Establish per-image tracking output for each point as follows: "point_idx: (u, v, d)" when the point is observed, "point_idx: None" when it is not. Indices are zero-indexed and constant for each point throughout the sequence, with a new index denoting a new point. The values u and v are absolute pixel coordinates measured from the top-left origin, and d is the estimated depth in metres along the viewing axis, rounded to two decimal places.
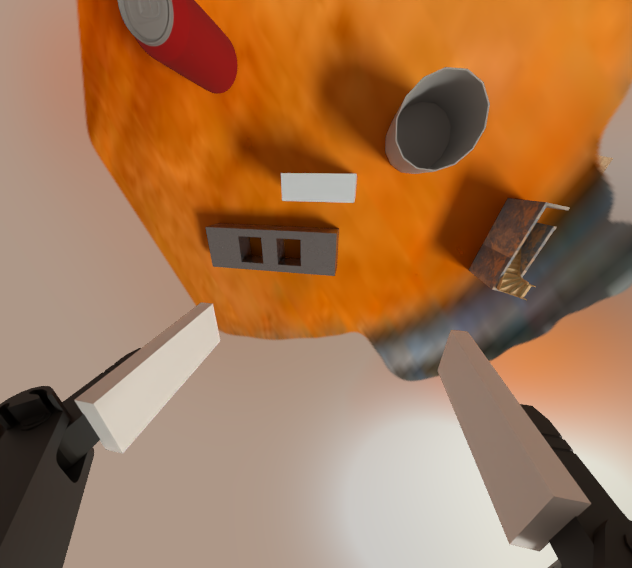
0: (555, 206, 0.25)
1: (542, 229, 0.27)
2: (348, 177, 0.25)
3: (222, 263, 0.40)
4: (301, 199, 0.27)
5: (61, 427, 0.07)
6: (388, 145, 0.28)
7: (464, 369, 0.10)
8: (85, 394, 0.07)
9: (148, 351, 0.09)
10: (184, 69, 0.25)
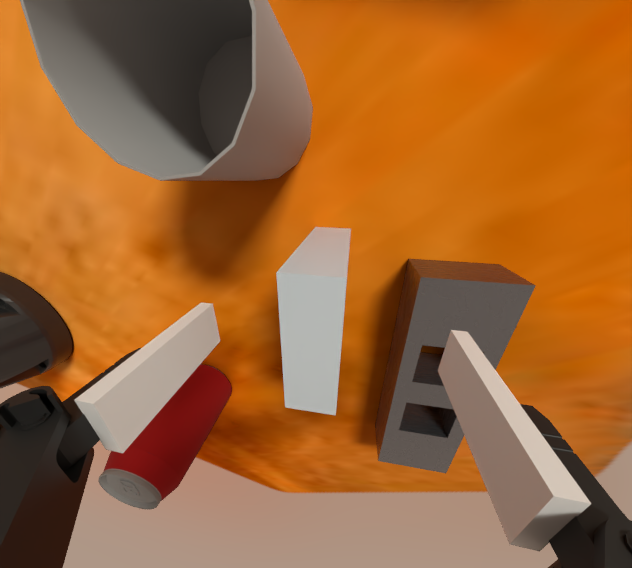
0: None
1: None
2: (285, 290, 0.10)
3: (443, 461, 0.23)
4: (334, 385, 0.12)
5: (61, 427, 0.07)
6: (254, 177, 0.14)
7: (464, 369, 0.10)
8: (85, 394, 0.07)
9: (148, 351, 0.09)
10: (191, 449, 0.21)
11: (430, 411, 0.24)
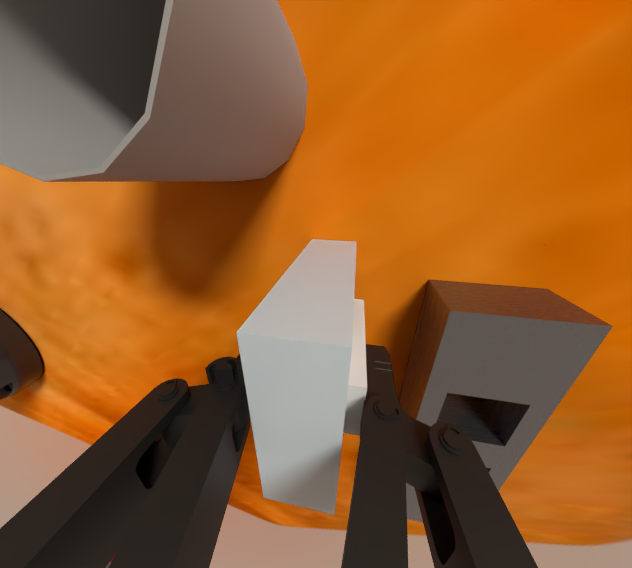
0: None
1: None
2: (253, 359, 0.06)
3: None
4: (332, 482, 0.08)
5: (239, 400, 0.08)
6: (228, 177, 0.11)
7: None
8: None
9: None
10: None
11: None
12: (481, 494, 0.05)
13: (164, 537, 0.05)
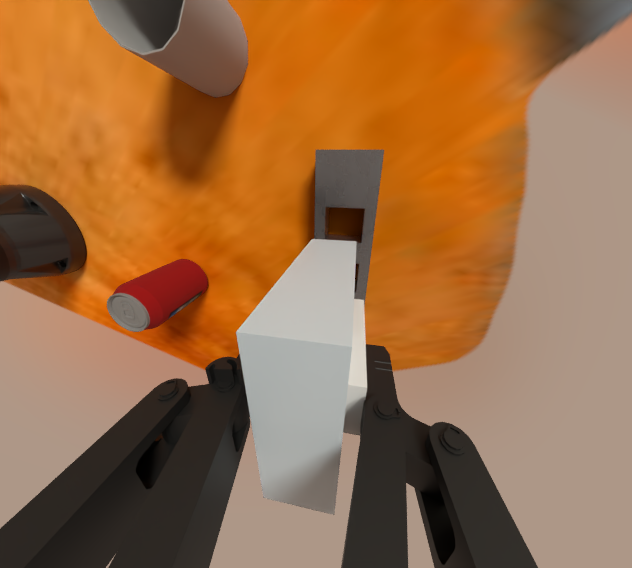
0: None
1: None
2: (252, 358, 0.06)
3: None
4: (332, 482, 0.08)
5: (239, 400, 0.08)
6: (207, 82, 0.23)
7: None
8: None
9: None
10: (172, 299, 0.30)
11: None
12: (481, 494, 0.05)
13: (164, 537, 0.05)
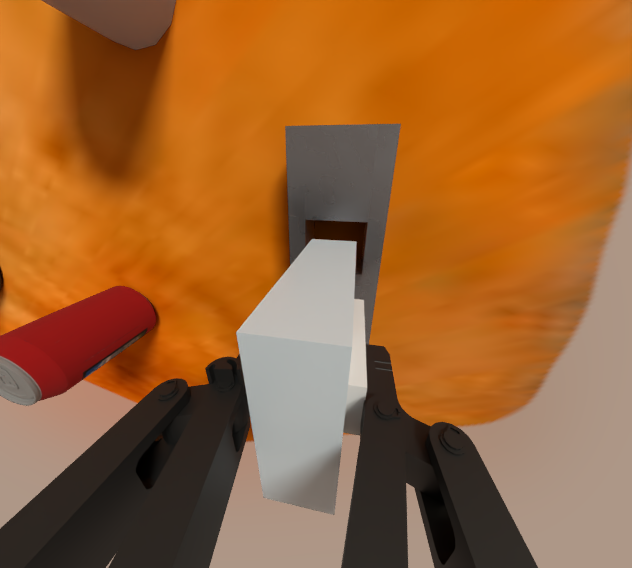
0: None
1: None
2: (252, 359, 0.06)
3: None
4: (332, 482, 0.08)
5: (239, 400, 0.08)
6: (99, 10, 0.13)
7: None
8: None
9: None
10: (85, 352, 0.20)
11: None
12: (481, 494, 0.05)
13: (164, 537, 0.05)
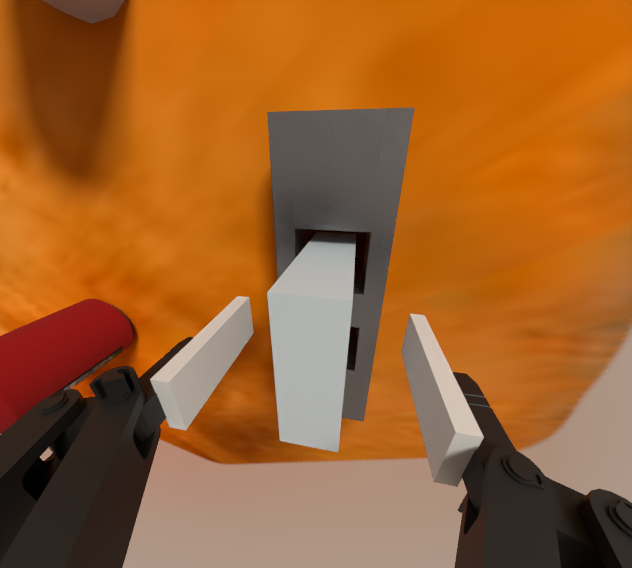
0: None
1: None
2: (278, 313, 0.08)
3: (357, 404, 0.19)
4: (336, 420, 0.10)
5: (138, 406, 0.07)
6: None
7: (415, 346, 0.11)
8: (158, 374, 0.08)
9: (202, 338, 0.10)
10: (41, 380, 0.17)
11: None
12: None
13: (48, 554, 0.04)
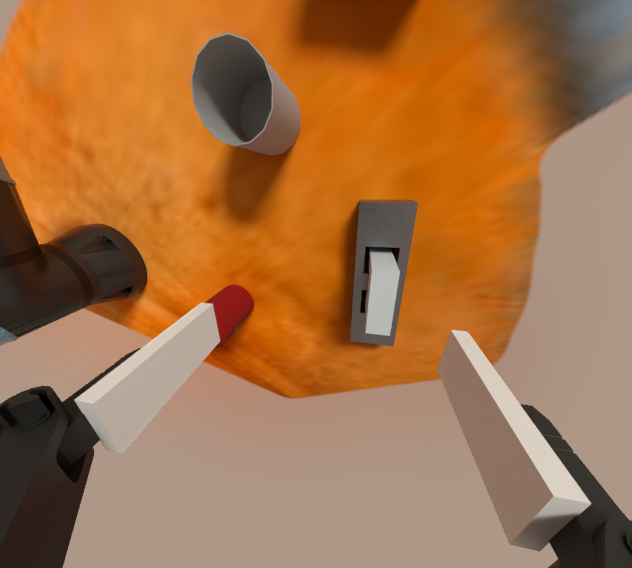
0: None
1: None
2: (374, 277, 0.25)
3: (390, 335, 0.36)
4: (390, 319, 0.27)
5: (61, 427, 0.07)
6: (270, 150, 0.28)
7: (464, 369, 0.10)
8: (85, 394, 0.07)
9: (148, 351, 0.09)
10: (231, 322, 0.35)
11: None
12: None
13: None
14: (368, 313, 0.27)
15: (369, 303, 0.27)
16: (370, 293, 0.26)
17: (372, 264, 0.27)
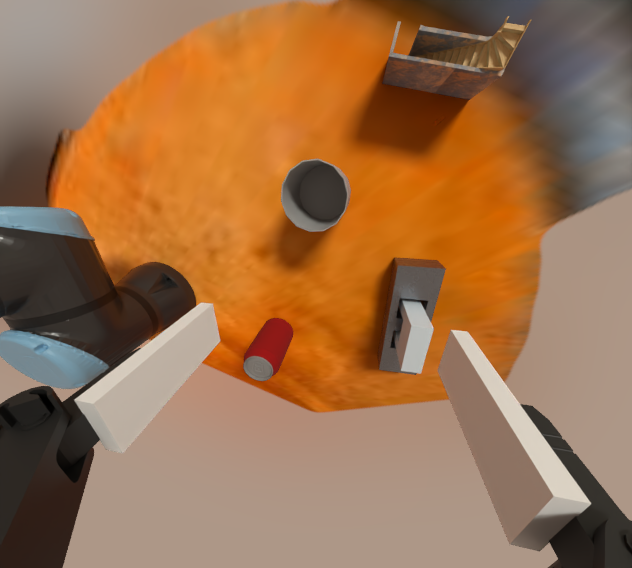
0: (394, 41, 0.23)
1: (422, 38, 0.23)
2: (413, 331, 0.32)
3: None
4: (422, 361, 0.34)
5: (61, 427, 0.07)
6: (327, 223, 0.34)
7: (464, 369, 0.10)
8: (85, 394, 0.07)
9: (148, 351, 0.09)
10: (282, 355, 0.41)
11: None
12: None
13: None
14: (405, 356, 0.34)
15: (406, 349, 0.34)
16: (408, 342, 0.33)
17: (409, 318, 0.34)
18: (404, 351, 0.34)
